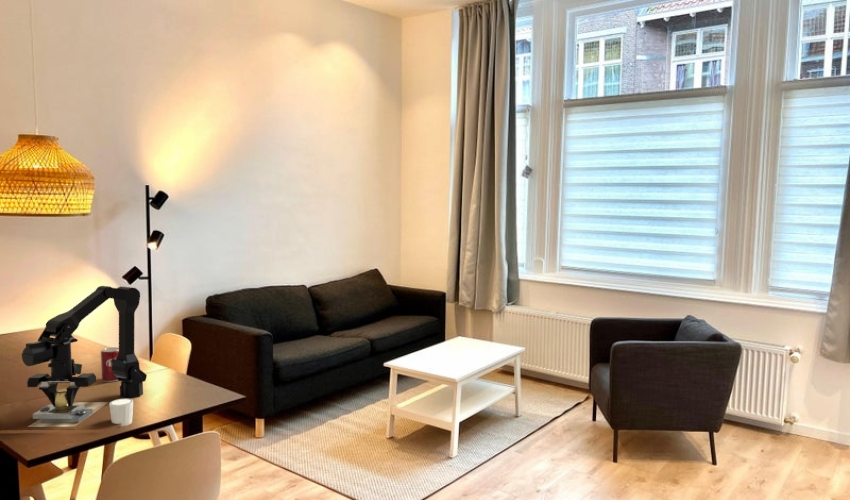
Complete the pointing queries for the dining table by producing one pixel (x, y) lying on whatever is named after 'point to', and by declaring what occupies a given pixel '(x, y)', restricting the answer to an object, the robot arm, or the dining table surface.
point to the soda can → (108, 363)
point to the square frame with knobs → (62, 414)
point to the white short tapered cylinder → (121, 411)
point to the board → (88, 405)
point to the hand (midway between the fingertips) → (63, 406)
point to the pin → (61, 401)
